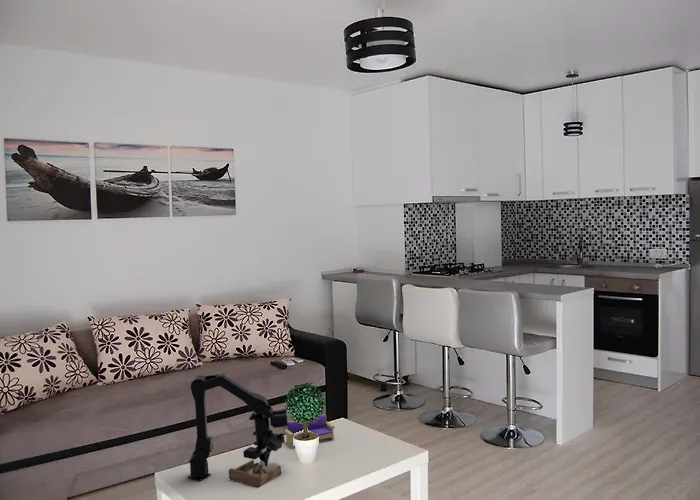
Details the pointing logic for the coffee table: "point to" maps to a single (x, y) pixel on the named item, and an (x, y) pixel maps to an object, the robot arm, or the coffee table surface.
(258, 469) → the eagle figurine
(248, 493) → the coffee table surface
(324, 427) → the toy sofa
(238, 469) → the walnut bay
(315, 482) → the coffee table surface
